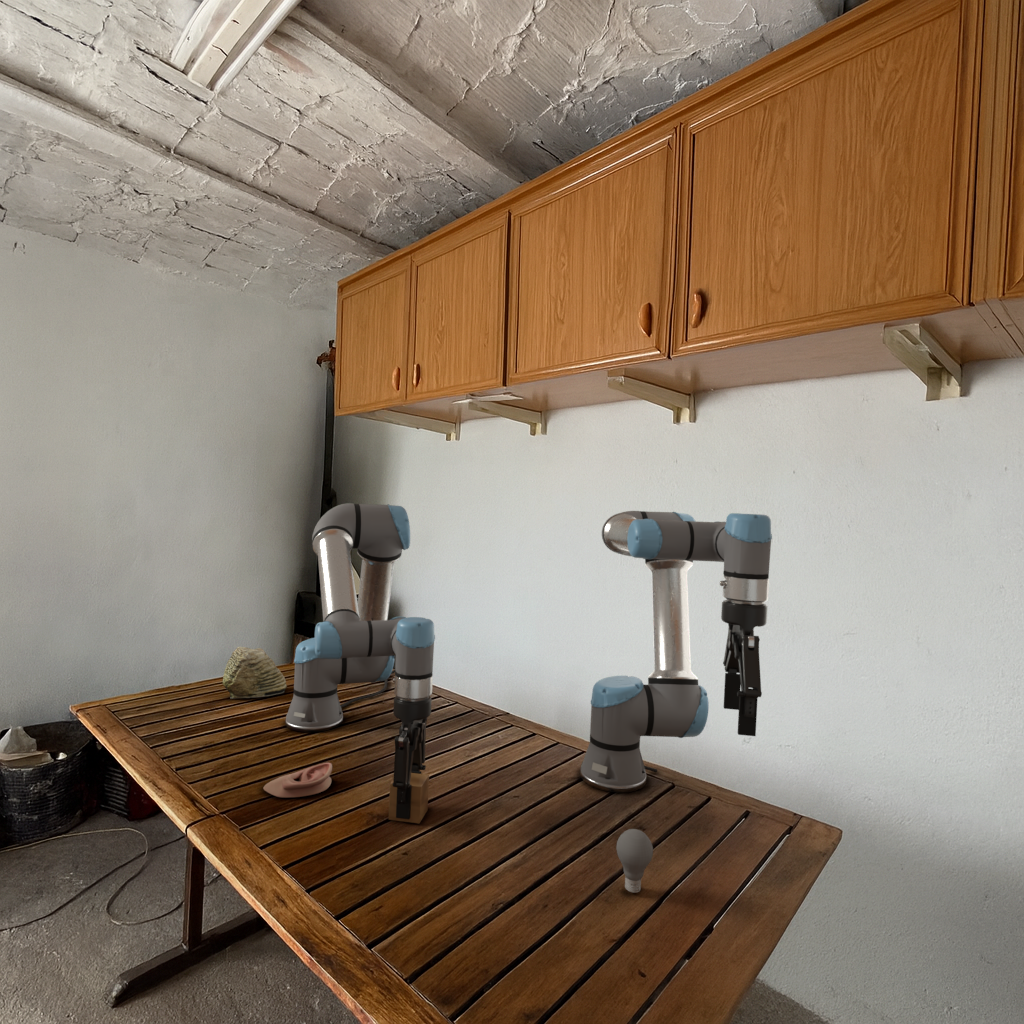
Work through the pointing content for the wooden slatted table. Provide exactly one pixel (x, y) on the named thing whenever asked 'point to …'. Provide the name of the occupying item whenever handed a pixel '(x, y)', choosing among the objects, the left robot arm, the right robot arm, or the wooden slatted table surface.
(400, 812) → the left robot arm
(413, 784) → the block
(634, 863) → the light bulb
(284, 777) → the anatomical model
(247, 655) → the fossil
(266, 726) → the wooden slatted table surface
